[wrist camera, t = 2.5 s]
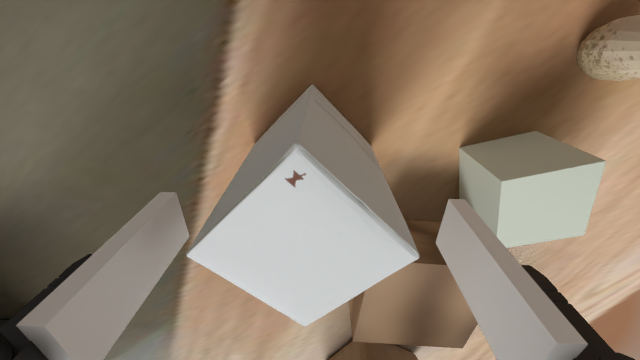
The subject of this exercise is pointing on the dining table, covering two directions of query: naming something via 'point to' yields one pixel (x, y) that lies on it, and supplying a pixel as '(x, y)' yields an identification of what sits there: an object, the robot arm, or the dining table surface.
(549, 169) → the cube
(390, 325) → the base block
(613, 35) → the mushroom
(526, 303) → the robot arm
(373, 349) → the wooden block
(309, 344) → the dining table surface
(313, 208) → the supplement box
